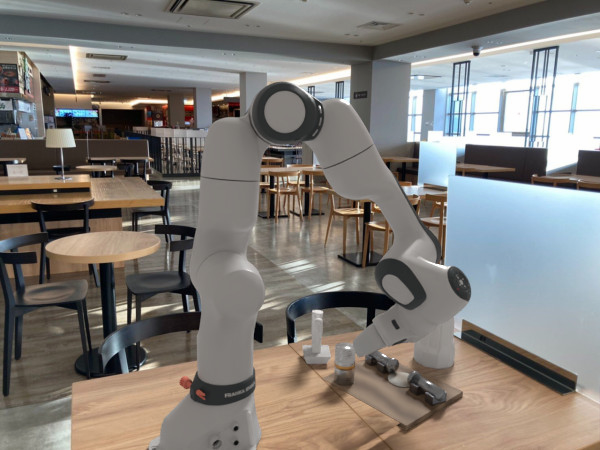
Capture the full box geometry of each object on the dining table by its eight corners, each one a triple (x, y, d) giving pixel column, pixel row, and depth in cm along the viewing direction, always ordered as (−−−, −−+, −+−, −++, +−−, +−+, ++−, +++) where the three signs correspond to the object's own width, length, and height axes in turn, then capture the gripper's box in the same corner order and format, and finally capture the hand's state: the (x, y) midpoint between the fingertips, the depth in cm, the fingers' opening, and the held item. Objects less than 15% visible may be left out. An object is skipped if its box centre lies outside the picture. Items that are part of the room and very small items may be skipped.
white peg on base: (327, 355, 136) (329, 304, 133) (331, 371, 127) (332, 317, 124) (302, 355, 136) (303, 304, 133) (303, 371, 127) (304, 317, 124)
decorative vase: (406, 355, 137) (411, 270, 133) (435, 348, 142) (441, 266, 137) (431, 372, 127) (437, 281, 123) (462, 364, 132) (469, 276, 127)
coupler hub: (344, 388, 116) (345, 353, 115) (329, 380, 120) (330, 346, 118) (358, 381, 120) (360, 347, 118) (344, 373, 123) (345, 340, 122)
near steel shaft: (405, 388, 116) (406, 373, 116) (419, 384, 119) (420, 368, 118) (433, 406, 109) (434, 390, 108) (447, 401, 111) (448, 385, 110)
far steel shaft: (399, 372, 125) (400, 357, 124) (386, 376, 122) (387, 361, 122) (377, 358, 132) (377, 344, 131) (364, 361, 130) (364, 347, 129)
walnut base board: (405, 430, 102) (406, 424, 102) (321, 382, 121) (321, 377, 121) (462, 395, 116) (463, 390, 116) (378, 357, 135) (379, 352, 135)
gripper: (430, 297, 110) (394, 324, 119) (370, 318, 97) (334, 347, 106) (446, 321, 108) (407, 347, 117) (386, 346, 95) (348, 373, 104)
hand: (372, 347), depth 111 cm, fingers open, 8 cm apart
